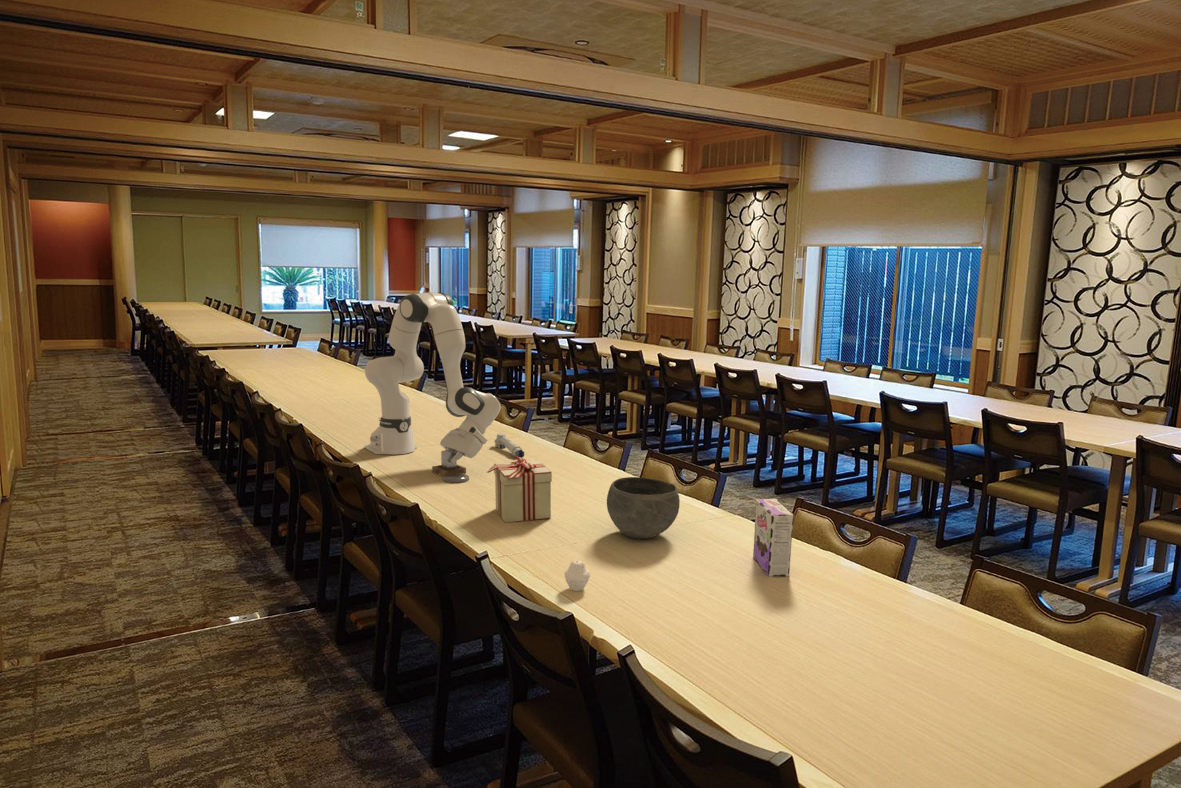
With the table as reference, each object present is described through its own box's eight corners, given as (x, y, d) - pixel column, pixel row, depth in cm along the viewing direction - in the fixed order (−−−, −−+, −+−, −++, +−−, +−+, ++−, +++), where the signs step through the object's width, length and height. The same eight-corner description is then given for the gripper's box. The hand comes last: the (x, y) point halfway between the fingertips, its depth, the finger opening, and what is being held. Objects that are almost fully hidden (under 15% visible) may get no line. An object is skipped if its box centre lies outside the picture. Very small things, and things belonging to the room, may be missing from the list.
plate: (438, 479, 286) (438, 476, 285) (459, 475, 292) (459, 472, 292) (453, 484, 279) (453, 481, 279) (474, 480, 286) (474, 477, 286)
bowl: (657, 553, 216) (659, 499, 214) (591, 537, 227) (592, 486, 225) (690, 532, 234) (692, 482, 231) (627, 519, 245) (629, 471, 242)
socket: (432, 471, 296) (432, 466, 296) (453, 468, 302) (453, 463, 301) (444, 476, 289) (444, 471, 289) (466, 473, 295) (466, 467, 295)
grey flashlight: (514, 450, 317) (493, 429, 339) (513, 465, 319) (492, 444, 340) (526, 449, 320) (504, 428, 341) (525, 464, 321) (504, 443, 343)
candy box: (752, 557, 214) (755, 498, 212) (773, 557, 215) (777, 498, 212) (767, 577, 201) (771, 514, 198) (790, 576, 201) (794, 513, 199)
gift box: (482, 510, 251) (482, 456, 248) (537, 504, 258) (538, 452, 256) (498, 526, 236) (498, 469, 233) (556, 520, 243) (557, 464, 240)
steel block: (441, 472, 296) (441, 451, 294) (450, 470, 298) (450, 449, 297) (447, 474, 293) (446, 453, 291) (456, 472, 295) (456, 451, 294)
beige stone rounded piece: (559, 591, 189) (560, 563, 188) (569, 582, 195) (570, 554, 194) (584, 595, 187) (584, 567, 186) (593, 586, 193) (594, 558, 192)
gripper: (450, 422, 305) (427, 450, 300) (479, 431, 290) (456, 461, 285) (460, 432, 309) (438, 460, 304) (490, 441, 293) (467, 471, 289)
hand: (447, 461), depth 294 cm, fingers closed on steel block, 4 cm apart
